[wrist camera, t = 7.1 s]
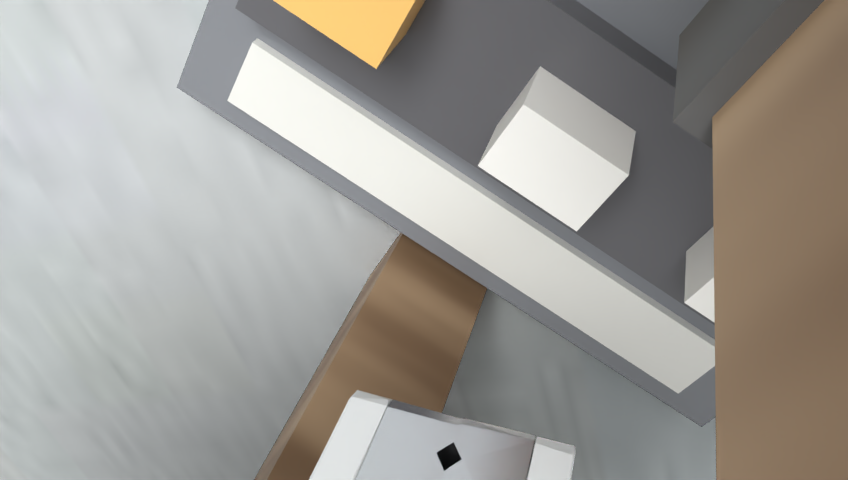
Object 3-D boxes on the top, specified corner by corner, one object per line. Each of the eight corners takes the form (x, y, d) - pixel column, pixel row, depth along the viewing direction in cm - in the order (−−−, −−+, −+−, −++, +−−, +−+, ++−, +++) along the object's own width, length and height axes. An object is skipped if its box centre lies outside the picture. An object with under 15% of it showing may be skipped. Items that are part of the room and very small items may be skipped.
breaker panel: (701, 390, 25) (700, 510, 21) (203, 66, 23) (112, 136, 19) (1082, 108, 17) (1179, 219, 14) (385, -399, 16) (290, -422, 12)
